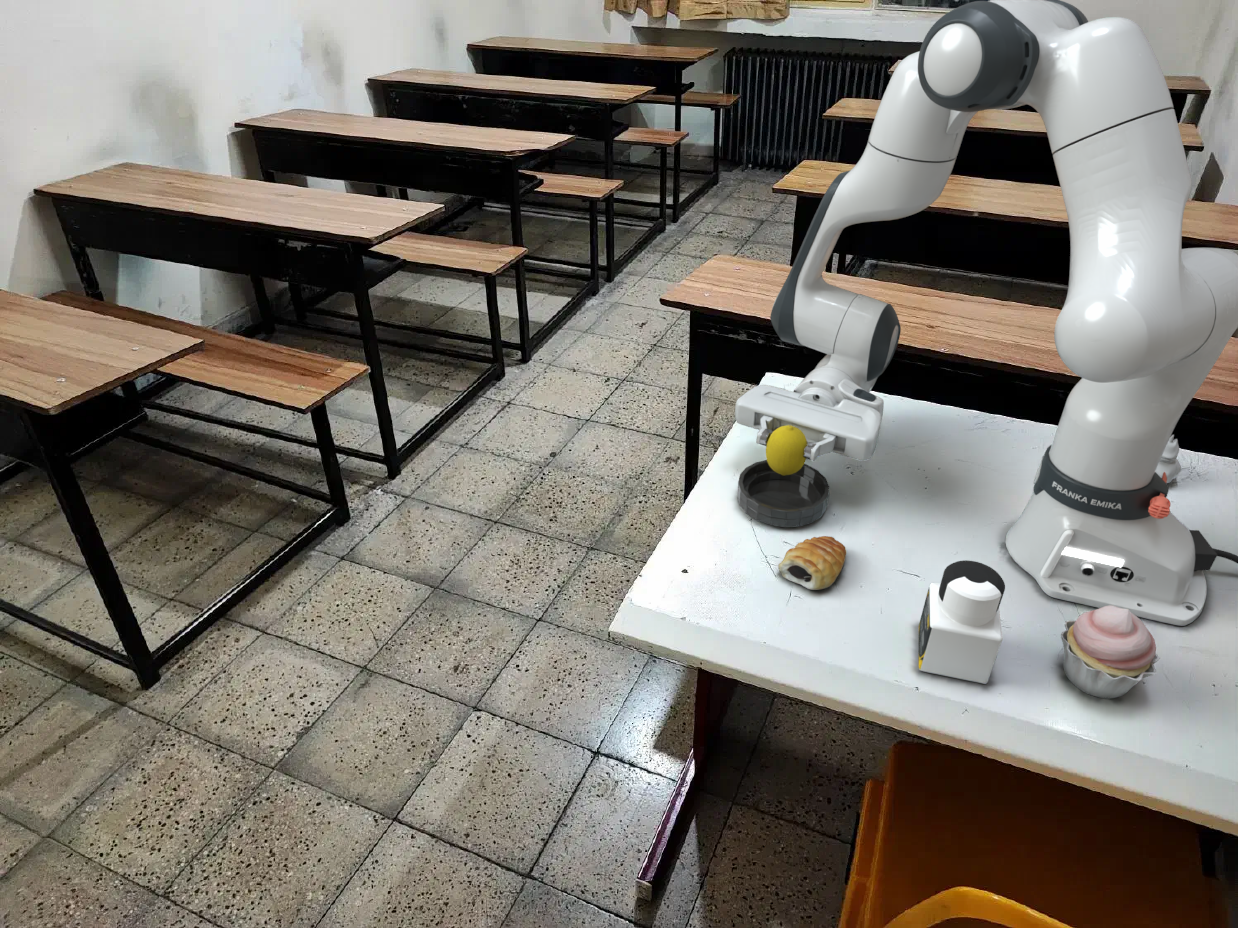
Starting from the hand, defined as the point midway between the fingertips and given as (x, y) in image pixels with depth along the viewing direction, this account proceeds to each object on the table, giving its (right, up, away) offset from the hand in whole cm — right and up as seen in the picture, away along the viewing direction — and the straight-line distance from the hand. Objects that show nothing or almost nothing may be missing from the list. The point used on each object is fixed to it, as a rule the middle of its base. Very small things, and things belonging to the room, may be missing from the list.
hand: (785, 447), depth 110 cm
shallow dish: (+1, -8, +6) cm, 10 cm away
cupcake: (+29, -25, -21) cm, 44 cm away
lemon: (0, -4, +4) cm, 5 cm away
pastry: (+2, -16, -6) cm, 17 cm away
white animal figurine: (+55, -4, +10) cm, 56 cm away
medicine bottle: (+15, -24, -18) cm, 33 cm away
